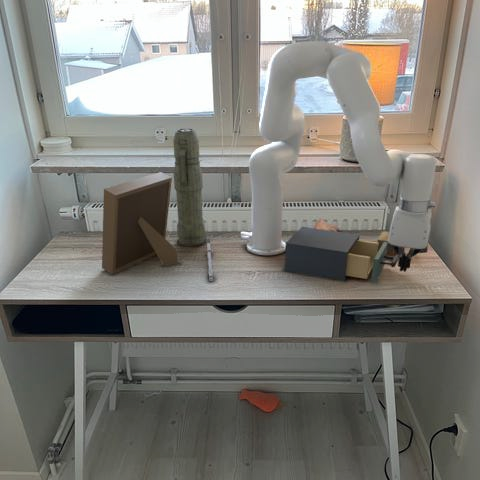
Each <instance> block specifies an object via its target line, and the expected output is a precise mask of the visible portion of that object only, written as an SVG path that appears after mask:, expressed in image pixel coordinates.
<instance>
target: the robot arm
mask: <svg viewBox="0 0 480 480" xmlns="http://www.w3.org/2000/svg"><path fill="white" fill-rule="evenodd" d="M372 69H373V68H372V64H371V60H370V59H369V57H367V56H366V55H365V54H364V53H362V52H361V51H356V50H352V49H349V48H346V47H343V46H340V45H337V44H333V43H330V42H327V41H323V40H312V41H308V40H307V41H299V42H293V43H289V44H287V45H284V46H282V47H280V48H279V49H277V51H275V53H274V54H273V55H272V57H271V59H270V61H269V63H268V67H267V73H266V83H265V90H264V94H263V100H262V105H261V112H260V119H259V125H258V127H259V129H258V130H259V135H260V137H261V138H262V139H263V140H264V141H265V142H267V143H269V144H265V145H262V146H260V147H259V148H257V149H255V150H254V151H253V153H251V155H250V157H249V160H248V171H249V177H250V185H251V231H250V232H248V231H243V230H242V231H240V240H243V241H247V243H246V249H247V251H248V252H250V253H251V254H254V255H258V256H275V255H279V254H282V253H284V252H285V249H286V242H285V241H283V215H284V214H283V212H284V211H283V210H284V188H283V182H282V179H281V176H282V175H284V174H286V173H289V172H290V171H291V170H293V169H294V168H295V167H296V165H297V163H298V160H299V156H300V151H301V147H302V142H303V137H304V133H305V127H306V120H305V114H304V112H303V109H301V108H300V106H298V105H297V104H295V101H296V96H297V83H296V82H297V80H300V79H308V78H309V79H311V78H315V77H320V78H323V79H325V80H327V81H328V84H329V86H330V88H331V90H332V93H333V94H334V96H335V98H336V100H337V102H338V103H339V106H340V109H341V110H342V112H343V114H344V116H345V118H346V120H347V123H348V125H349V132H350V138H351V144H352V149H353V153H354V155H355V158H356V160H357V162H358V164H359V167H360V169H361V171H362V173H363V174H364V176H365V178H366V179H367V180H368V181H369V182H370V184H372V185H374V186H376V187H380V188H381V187H386V186H389V185H390V184H392V183H394V182H395V181H398V180H401V186H400V193H399V198H398V199H399V200H398V205H397V206H396V207H395V208H394V211H393V215H392V218H391V222H390V227H389V231H388V232H389V238H388V243H387V247H388V248H391V249H394V250H395V251H396V252H395V253H396V254H397V256H399V259H398V263H397V264H398V265H397V267H398V268H399V272H404V273H407V270H408V269H410V268H411V263H412V258H414V256H416V255H418V254H427V253H428V251H429V246H428V244H429V241H430V237H431V236H430V235H431V229H432V228H431V227H432V208H433V209H435V207H436V203H437V202H435V201H432V200H431V198H432V197H431V196H432V191H433V186H434V180H435V173H436V168H437V159H436V157H435V156H433V155H430V154H425V153H411V152H408V151H404V150H400V149H388V150H386V148H385V146H384V144H383V141H382V138H381V134H380V129H379V127H380V126H379V125H380V124H379V122H380V118H381V114H382V113H381V110H382V108H381V104H380V102H379V100H378V98H377V96H376V95H375V93H374V90H373V88H372V87H371V84H370V82H369V80H370V78H371V76H372ZM406 248H408V249H409V251H408V252H407V253H406V252H405V249H406Z"/></svg>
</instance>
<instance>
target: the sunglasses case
mask: <svg viewBox="0 0 480 480" xmlns="http://www.w3.org/2000/svg"><path fill="white" fill-rule="evenodd" d="M319 219H320V220H319ZM319 219H318V220H319V221H318V220H317V221H318V222H317V221H316V222H317V223H316V222H315V225H314V228H315V229H322V230H329V231H336V232H340V228H339V227H337V226H335V225H332V224H330V223H328V222H327V221H325V220H323V219H322V218H319Z"/></svg>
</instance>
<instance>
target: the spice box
mask: <svg viewBox="0 0 480 480" xmlns="http://www.w3.org/2000/svg"><path fill="white" fill-rule="evenodd" d="M389 232H390V231H381V234H380V235H379V236H378V238H377V241H376V243H379V244H378V251H379V250H380V248H381V246H382V244H383V243H384V242H387V243H388V238H389ZM377 253H378V252H377ZM396 253H397V252H396V251H395V250H394V249H391V248H388V247H387V254H386V255H387V256H393V257H394V256H395V255H396ZM387 259H389V258H387ZM389 260H390V259H389Z"/></svg>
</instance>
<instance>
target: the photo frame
mask: <svg viewBox="0 0 480 480" xmlns="http://www.w3.org/2000/svg"><path fill="white" fill-rule="evenodd" d="M172 181H173V176H170V175H168V174H166V173H164V172H162V171H159V172H155V173H153V174H149V175H146V176H142V177H139V178H136V179H132V180H128V181H126V182H122V183H119V184H116V185H113V186H109V187H106V188H103V206H102V207H103V208H102V210H103V212H102V247H101V248H102V249H101V251H102V252H101V269H103V270H104V271H106V272H108V273H109V274H110V275H114V274H117V273H119V272H122V271H124V270H126V269H128V268H130V267H133V266H134V265H136V264H139V263H141V262H143V261H146V260H147V259H150V258H151V257H154V256H156V255H157V257H158V258H159V260H160V262H161V263H162V265H163V266H171V265H176V264H179V259H178V258H179V257H178V251H177V248H176V247H175V246H174V245H173V244H172V243H170V242H169V240H167V239H166V237H167V236H166V235H167V227H168V218H169V217H168V216H169V208H170V200H171V191H172Z"/></svg>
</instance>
